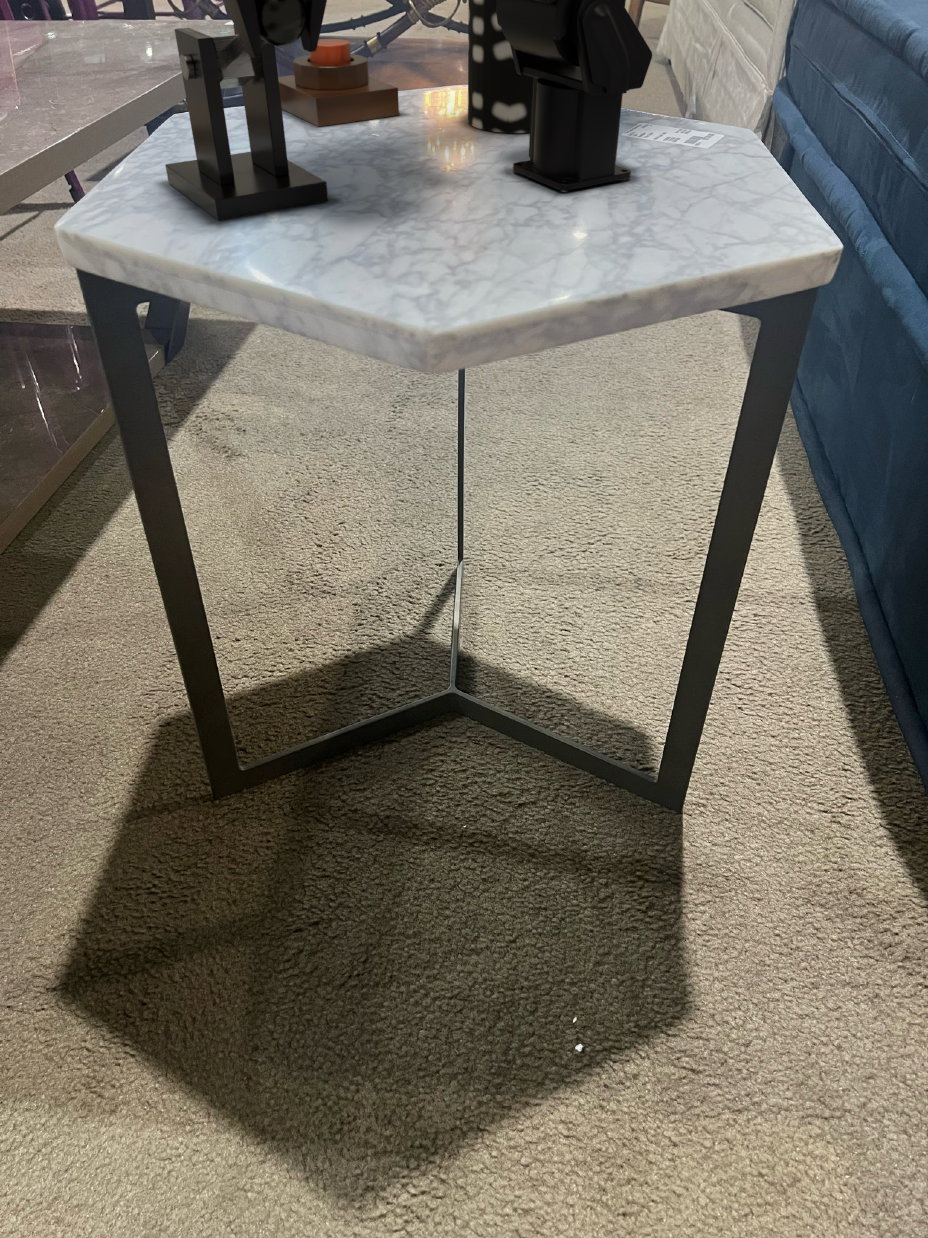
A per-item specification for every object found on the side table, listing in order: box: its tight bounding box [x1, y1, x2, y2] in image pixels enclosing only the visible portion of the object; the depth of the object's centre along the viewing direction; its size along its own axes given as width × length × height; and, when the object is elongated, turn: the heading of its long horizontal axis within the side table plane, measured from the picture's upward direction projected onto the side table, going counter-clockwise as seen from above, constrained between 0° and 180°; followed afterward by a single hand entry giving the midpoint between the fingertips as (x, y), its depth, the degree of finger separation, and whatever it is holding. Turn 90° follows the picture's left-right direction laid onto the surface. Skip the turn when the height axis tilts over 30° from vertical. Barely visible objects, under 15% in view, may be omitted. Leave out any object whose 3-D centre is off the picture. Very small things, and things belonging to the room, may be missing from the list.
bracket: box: [165, 24, 329, 222], centre depth 62 cm, size 10×8×10 cm
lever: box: [212, 0, 307, 90], centre depth 56 cm, size 13×3×3 cm, turn 32°
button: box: [308, 38, 351, 64], centre depth 82 cm, size 4×4×2 cm
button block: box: [278, 53, 400, 127], centre depth 84 cm, size 10×8×4 cm
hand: (282, 53), depth 53 cm, fingers closed on lever, 3 cm apart
